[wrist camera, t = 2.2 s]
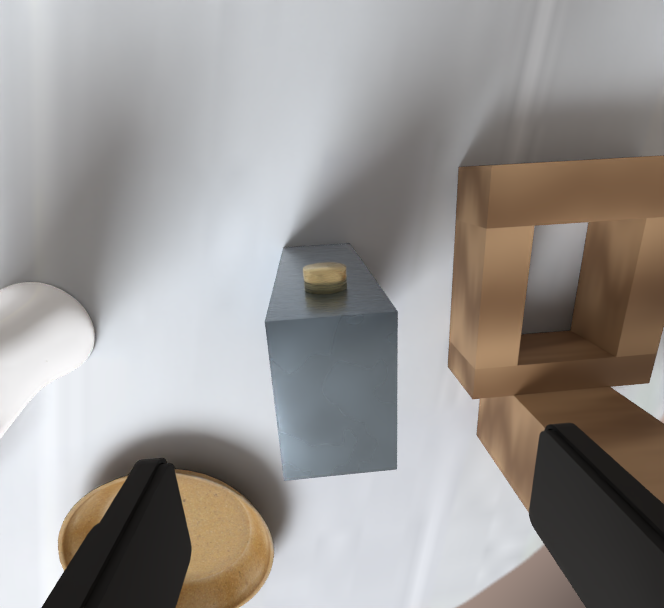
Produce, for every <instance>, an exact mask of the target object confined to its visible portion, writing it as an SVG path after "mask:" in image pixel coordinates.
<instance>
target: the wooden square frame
mask: <svg viewBox="0 0 664 608" xmlns="http://www.w3.org/2000/svg"><path fill="white" fill-rule="evenodd" d="M581 222H589V223H588V229H587V235H586V240H585V246H584V252H583V258H582V264H581V270H580V276H579V282H578V288H577V294H576V299H575V305H574V311H573V317H572V323H571V329H570V330H569V331H557V332H545V333H532V334H521V331H522V323H523V315H524V307H525V299H526V291H527V283H528V275H529V266H530V258H531V250H532V242H533V234H534V226H536V225H551V224H566V223H581ZM663 327H664V156H646V157H628V158H610V159H592V160H575V161H557V162H539V163H521V164H504V165H486V166H468V167H459V171H458V189H457V208H456V226H455V244H454V263H453V281H452V299H451V317H450V336H449V354H448V368H449V369H450V370H451V372H452V373H453V374H454V375H455V377H456V378H457V379H458V381H459V382H460V383H461V385H462V386H463V387H464V389H465V390H466V391H467V392H468V394H469V395H470V396H471V398H472V399H480V403H479V414H478V425H477V436H478V438H479V439H480V441H481V442H482V444H483V445H484V447H485V448H486V450H487V451H488V453H489V454H490V456H491V457H492V459H493V460H494V462H495V463H496V465H497V466H498V468H499V469H500V471H501V472H502V473H503V475H504V476H505V478H506V479H507V481H508V482H509V484H510V485H511V487H512V488H513V490H514V491H515V493H516V494H517V496H518V497H519V499H520V500H521V502H522V503H523V505H524V506H525V508H526V509H527V511H528V512H529V507H530V499H531V492H532V485H533V477H534V470H535V463H536V456H537V448H538V441H539V435H540V433H541V431H544V430H545V427H546V426H547V425H549V424H559V423H573V424H575V425H576V426H577V427H579V428H580V429H581V430H582V431H583V432H584V433H585V434H586V435H587V436H589V437H590V438H591V439H592V440H593V441H594V442H595V443H596V444H598V445H599V446H600V447H601V448H602V449H603V450H604V451H605V452H606V453H608V454H609V455H610V456H611V457H612V458H613V459H614V460H615V461H616V462H618V463H619V464H620V465H621V466H622V467H623V468H624V469H625V470H626V471H628V472H629V473H630V474H631V475H632V476H633V477H634V478H635V479H636V480H638V481H639V482H640V483H641V484H642V485H643V486H644V487H645V488H646V489H648V490H649V491H650V492H651V493H652V494H653V495H654V496H655V497H656V498H658V499H659V500H660V501H661V502H662V503H663V504H664V424H663V423H662V422H661V421H659V420H658V419H656V418H655V417H653V416H652V415H650V414H649V413H647V412H646V411H645V410H643V409H642V408H640V407H639V406H637V405H636V404H634V403H633V402H631V401H630V400H628V399H627V398H626V397H624V396H623V395H621V394H620V393H618V392H617V391H615V390H614V389H612V388H611V387H612V386H623V385H634V384H645V383H649V382H650V378H651V374H652V370H653V366H654V362H655V358H656V354H657V350H658V347H659V343H660V339H661V335H662V331H663Z"/></svg>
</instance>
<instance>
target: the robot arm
mask: <svg viewBox="0 0 664 608" xmlns="http://www.w3.org/2000/svg"><path fill="white" fill-rule="evenodd" d="M529 517H530V521H531V523H532V526H533V527H534V529H535V531H536V532H537V534H538V535H539V537H540V538H541V540H542V541H543V543H544V544H545V546H546V547H547V549H548V550H549V552H550V553H551V555H552V556H553V558H554V559H555V561H556V562H557V564H558V566H559V567H560V569H561V570H562V572H563V573H564V574H565V576H566V578H567V579H568V581H569V582H570V584H571V585H572V587H573V588H574V590H575V591H576V593H577V595H578V596H579V597H580V599H581V601H582V602H583V603H584V605H585V607H586V608H664V504H663V503H662V502H661V501H660V500H659V499H658V498H656V497H655V496H654V495H653V494H652V493H651V492H650V491H649V490H648V489H646V488H645V487H644V486H643V485H642V484H641V483H640V482H639V481H638V480H636V479H635V478H634V477H633V476H632V475H631V474H630V473H629V472H628V471H626V470H625V469H624V468H623V467H622V466H621V465H620V464H619V463H618V462H616V461H615V460H614V459H613V458H612V457H611V456H610V455H609V454H608V453H606V452H605V451H604V450H603V449H602V448H601V447H600V446H599V445H598V444H596V443H595V442H594V441H593V440H592V439H591V438H590V437H589V436H587V435H586V434H585V433H584V432H583V431H582V430H581V429H580V428H579V427H577V426H576V425H575V424H573V423H559V424H549V425H547V426H546V427H545V430H544V431H541V433H540V435H539V441H538V448H537V456H536V463H535V470H534V477H533V485H532V492H531V499H530V507H529ZM191 552H192V546H191V540H190V536H189V531H188V527H187V522H186V518H185V513H184V509H183V505H182V500H181V496H180V491H179V487H178V482H177V478H176V474H175V469H174V466H173V464H171V463H170V464H167V462H166V460H165V459H164V458H156V459H144V460H139V461H138V462H137V463H136V464H135V466H134V467H133V469H132V471H131V472H130V474H129V475H128V477H127V479H126V480H125V482H124V484H123V485H122V487H121V488H120V490H119V492H118V493H117V495H116V497H115V498H114V500H113V501H112V503H111V505H110V506H109V508H108V510H107V511H106V513H105V515H104V516H103V518H102V519H101V521H100V523H98V524H96V525H95V526H94V527H93V528H92V529H91V530H90V532H89V533H88V534H87V536H86V537H85V539H84V541H83V542H82V544H81V545H80V547H79V549H78V550H77V552H76V553H75V555H74V557H73V558H72V560H71V561H70V563H69V565H68V566H67V568H66V569H65V571H64V573H63V574H62V576H61V577H60V579H59V580H58V582H57V584H56V585H55V587H54V588H53V590H52V592H51V593H50V595H49V596H48V598H47V600H46V601H45V603H44V604H43V606H42V608H176V605H177V602H178V599H179V595H180V592H181V589H182V586H183V582H184V579H185V576H186V573H187V570H188V566H189V563H190V559H191Z"/></svg>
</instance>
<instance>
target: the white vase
mask: <svg viewBox="0 0 664 608" xmlns="http://www.w3.org/2000/svg"><path fill="white" fill-rule="evenodd" d="M94 342H95V331H94V326H93V323H92V321H91V318H90V316H89V315H88V313H87V311H86V310H85V309H84V307H83V306H82V305H81V304H80V303H79V302H78V301H77V300H76V299H75V298H74V297H72V296H71V295H70V294H68V293H67V292H65V291H63V290H61V289H59V288H57V287H54V286H52V285H48V284H44V283H39V282H22V283H16V284H13V285H10V286H7V287H5V288H3V289H1V290H0V438H1V437H2V436H3V435H4V433H5V432H6V431H7V430H8V428H9V427H10V426H11V424H12V423H13V422H14V421H15V419H16V418H17V417H18V415H19V414H20V413H21V411H22V410H23V409H24V408H25V406H26V405H27V404H28V403H29V402H30V400H31V399H32V398H33V397H34V396H35V395H36V394H37V393H38V392H39V391H40V390H41V389H42V388H44V387H45V386H46V385H48V384H49V383H51V382H53V381H55V380H57V379H58V378H60V377H62V376H64V375H66V374H68V373H70V372H72V371H74V370H75V369H77V368H78V367H80V366H81V365H82V364H83V363H84V362H85V361H86V360H87V359H88V357H89V356H90V354H91V352H92V350H93V347H94Z"/></svg>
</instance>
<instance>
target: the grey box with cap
mask: <svg viewBox="0 0 664 608" xmlns="http://www.w3.org/2000/svg"><path fill="white" fill-rule="evenodd" d="M265 327H266V335H267V343H268V352H269V360H270V368H271V377H272V385H273V393H274V401H275V410H276V418H277V426H278V435H279V443H280V451H281V460H282V468H283V476H284V481H286V480H296V479H306V478H316V477H326V476H336V475H346V474H355V473H365V472H375V471H385V470H395V469H397V328H398V311H397V310H396V308H395V307H394V306H393V304H392V303H391V301H390V300H389V298H388V297H387V296H386V294H385V293H384V291H383V290H382V289H381V287H380V286H379V284H378V283H377V281H376V280H375V279H374V277H373V276H372V274H371V273H370V271H369V270H368V269H367V267H366V266H365V264H364V263H363V262H362V260H361V259H360V257H359V256H358V254H357V253H356V252H355V250H354V249H353V247H352V246H351V245H350V243H346V244H331V245H316V246H301V247H286V248H283V251H282V255H281V259H280V263H279V267H278V271H277V275H276V279H275V283H274V287H273V291H272V295H271V299H270V303H269V307H268V311H267V315H266V319H265Z"/></svg>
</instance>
